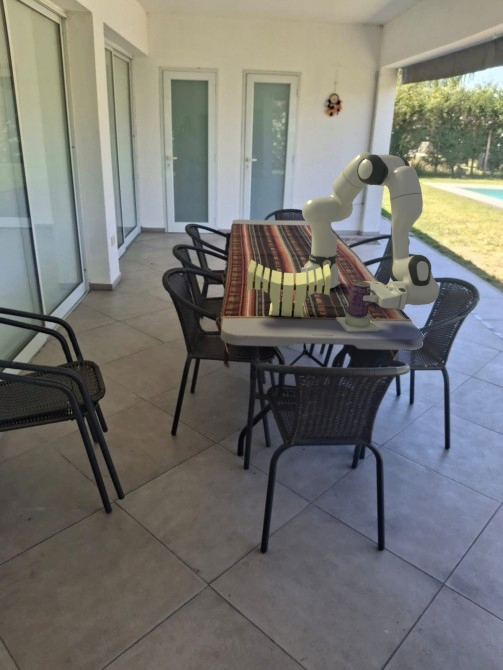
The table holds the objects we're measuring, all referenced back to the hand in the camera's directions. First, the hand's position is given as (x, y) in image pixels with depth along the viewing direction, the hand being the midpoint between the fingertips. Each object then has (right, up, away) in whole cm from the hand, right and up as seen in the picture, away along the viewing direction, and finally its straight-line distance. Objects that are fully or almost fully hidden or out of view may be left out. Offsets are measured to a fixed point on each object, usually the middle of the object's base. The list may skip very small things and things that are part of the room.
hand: (358, 294), depth 174 cm
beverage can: (0, -8, +4) cm, 8 cm away
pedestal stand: (+1, -11, +5) cm, 12 cm away
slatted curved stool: (-25, -6, +15) cm, 30 cm away
